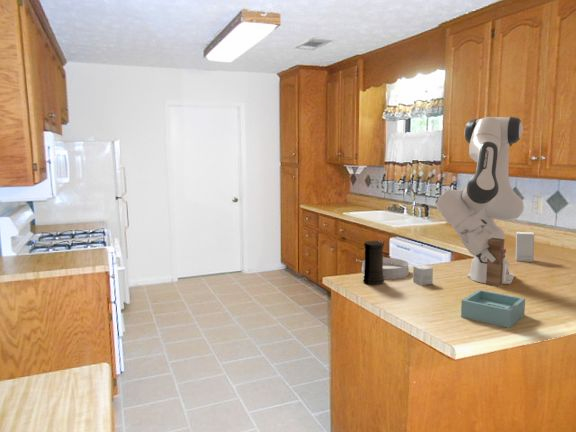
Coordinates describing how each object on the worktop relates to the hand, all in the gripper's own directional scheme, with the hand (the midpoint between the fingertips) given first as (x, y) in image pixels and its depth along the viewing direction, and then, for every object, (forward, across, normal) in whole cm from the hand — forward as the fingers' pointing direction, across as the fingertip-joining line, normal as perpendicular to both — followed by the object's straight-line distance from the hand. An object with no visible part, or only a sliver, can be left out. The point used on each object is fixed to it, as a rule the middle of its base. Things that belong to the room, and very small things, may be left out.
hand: (497, 259), depth 156 cm
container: (-24, +8, +53) cm, 59 cm away
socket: (+14, 0, +15) cm, 20 cm away
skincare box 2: (+3, +92, +26) cm, 96 cm away
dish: (-27, +26, +57) cm, 68 cm away
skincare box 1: (-12, +21, +41) cm, 48 cm away
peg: (+6, 0, +7) cm, 9 cm away
